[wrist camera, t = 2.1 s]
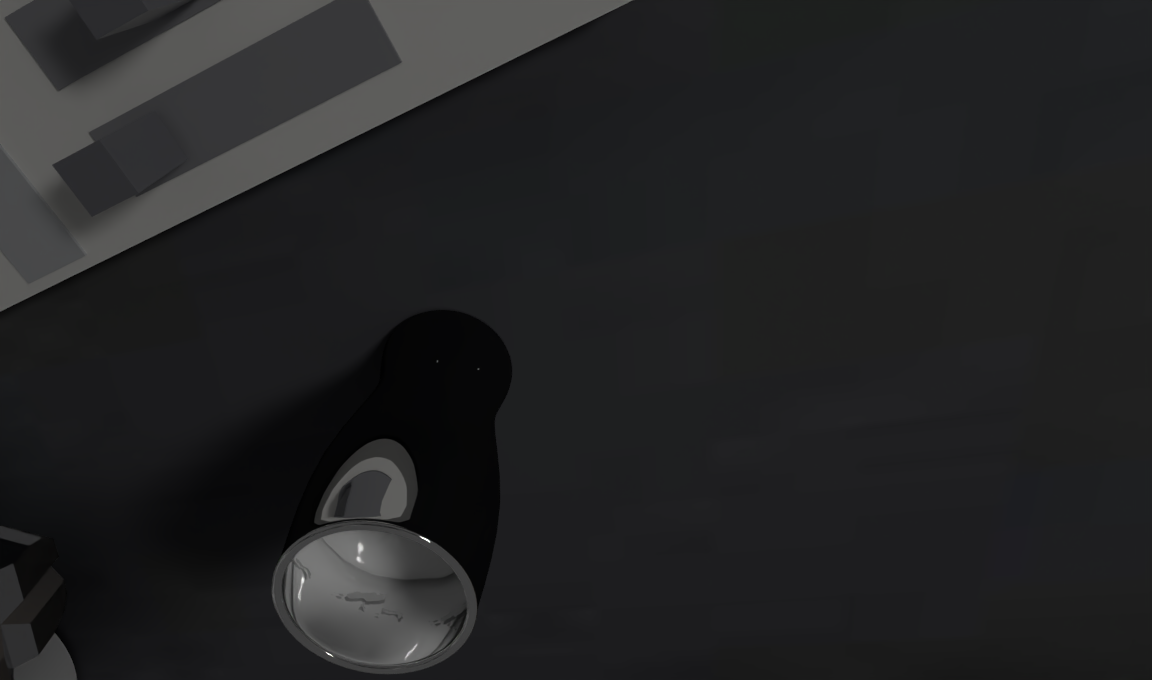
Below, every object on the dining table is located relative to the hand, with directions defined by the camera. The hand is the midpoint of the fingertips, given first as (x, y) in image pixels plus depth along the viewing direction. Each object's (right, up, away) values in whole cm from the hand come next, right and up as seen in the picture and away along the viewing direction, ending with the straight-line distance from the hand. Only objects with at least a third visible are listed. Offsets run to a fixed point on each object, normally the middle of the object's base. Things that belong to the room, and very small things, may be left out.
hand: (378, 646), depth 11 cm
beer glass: (-4, +3, +30) cm, 30 cm away
